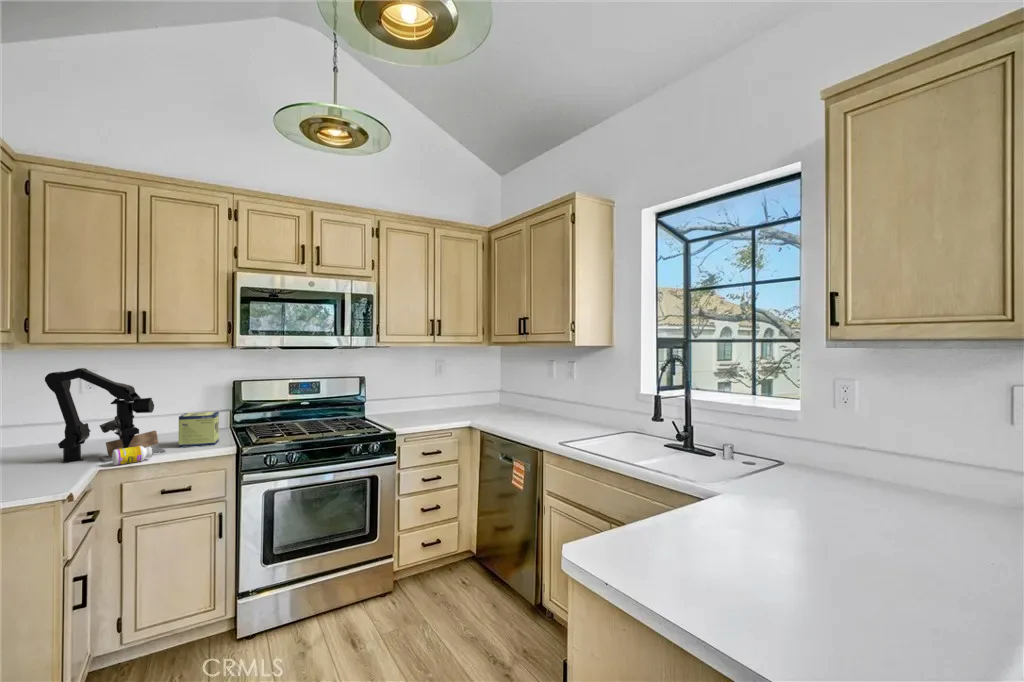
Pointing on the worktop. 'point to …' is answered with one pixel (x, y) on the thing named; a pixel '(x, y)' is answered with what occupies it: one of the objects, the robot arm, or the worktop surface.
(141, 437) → the brown wooden plank
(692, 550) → the worktop surface
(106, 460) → the mat
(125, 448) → the supplement bottle
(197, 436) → the protein box
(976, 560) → the worktop surface
